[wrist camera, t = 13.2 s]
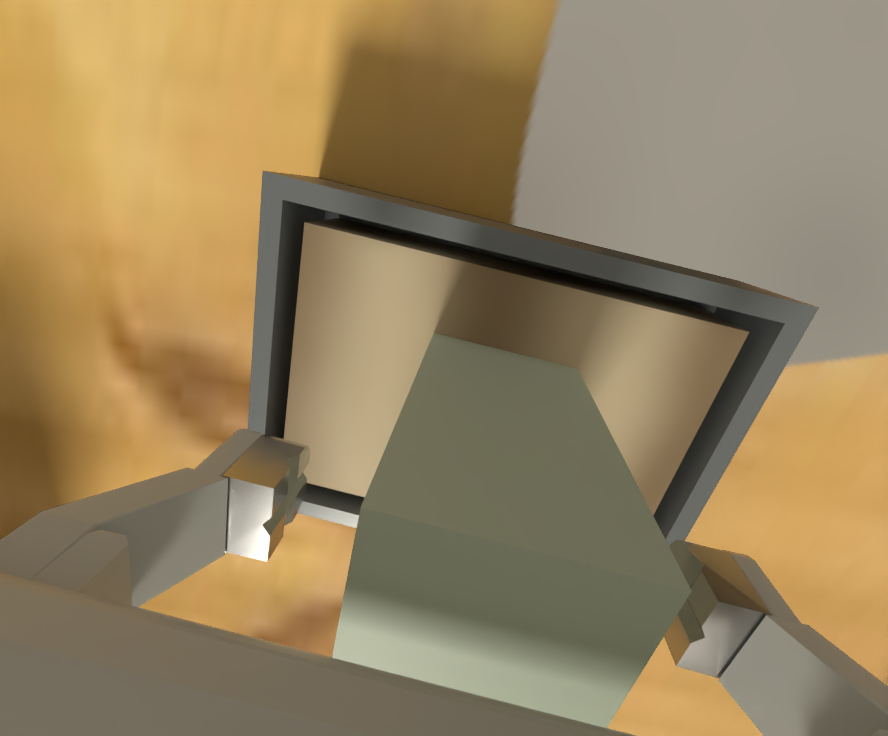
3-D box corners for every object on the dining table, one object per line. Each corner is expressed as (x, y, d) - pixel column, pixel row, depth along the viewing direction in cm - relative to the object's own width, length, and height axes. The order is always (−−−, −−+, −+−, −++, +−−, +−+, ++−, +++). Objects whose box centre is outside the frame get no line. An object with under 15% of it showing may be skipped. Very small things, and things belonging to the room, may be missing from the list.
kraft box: (701, 307, 15) (749, 332, 12) (607, 508, 18) (628, 563, 16) (338, 217, 15) (304, 222, 12) (311, 434, 18) (280, 475, 16)
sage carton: (577, 368, 13) (691, 591, 6) (533, 486, 15) (576, 775, 7) (433, 332, 13) (360, 507, 6) (406, 454, 15) (321, 710, 7)
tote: (738, 280, 15) (818, 307, 11) (618, 524, 19) (649, 602, 16) (318, 177, 15) (262, 170, 12) (290, 442, 19) (243, 499, 16)
